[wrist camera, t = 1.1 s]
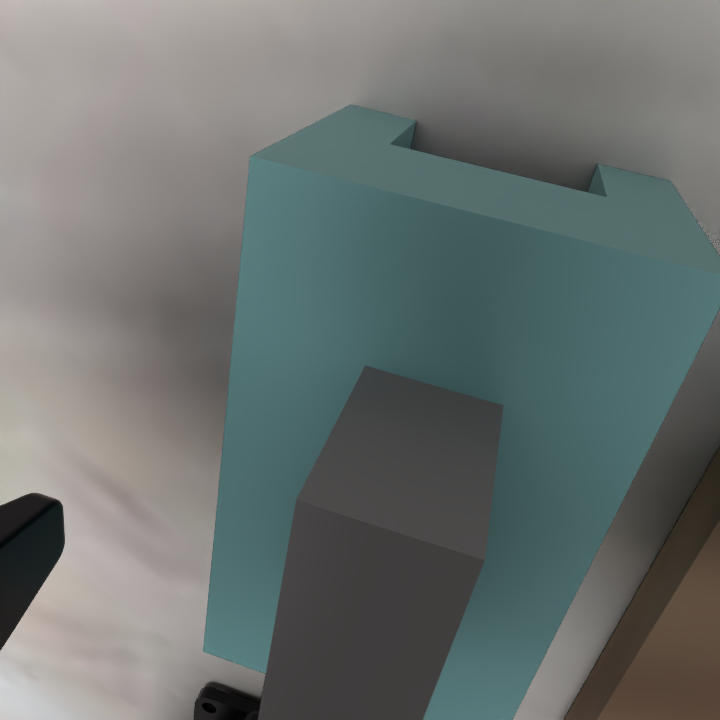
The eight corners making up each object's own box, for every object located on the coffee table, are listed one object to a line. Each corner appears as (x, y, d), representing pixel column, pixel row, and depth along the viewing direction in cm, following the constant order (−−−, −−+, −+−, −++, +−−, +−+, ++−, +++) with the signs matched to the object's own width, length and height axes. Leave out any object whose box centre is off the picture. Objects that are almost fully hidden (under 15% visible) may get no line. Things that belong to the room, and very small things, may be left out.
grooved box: (508, 566, 17) (479, 945, 10) (286, 495, 18) (121, 803, 11) (669, 180, 12) (825, 415, 5) (351, 104, 13) (119, 222, 6)
